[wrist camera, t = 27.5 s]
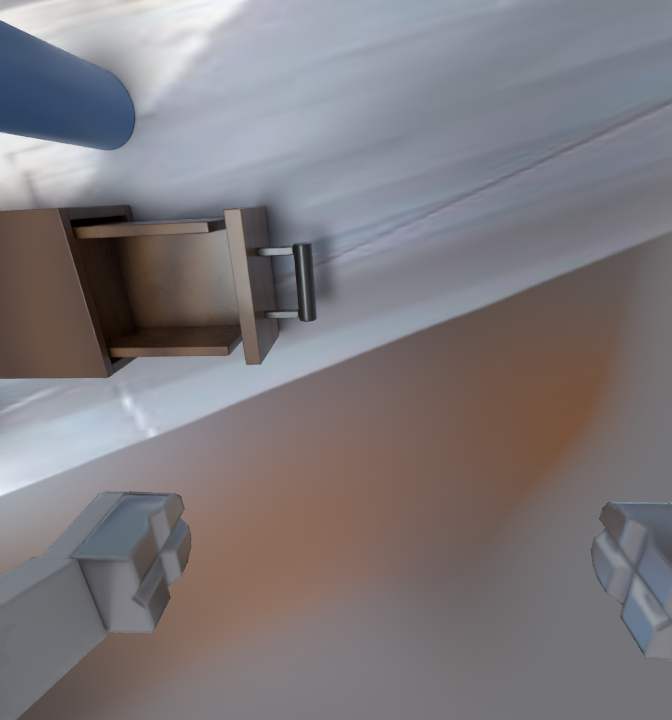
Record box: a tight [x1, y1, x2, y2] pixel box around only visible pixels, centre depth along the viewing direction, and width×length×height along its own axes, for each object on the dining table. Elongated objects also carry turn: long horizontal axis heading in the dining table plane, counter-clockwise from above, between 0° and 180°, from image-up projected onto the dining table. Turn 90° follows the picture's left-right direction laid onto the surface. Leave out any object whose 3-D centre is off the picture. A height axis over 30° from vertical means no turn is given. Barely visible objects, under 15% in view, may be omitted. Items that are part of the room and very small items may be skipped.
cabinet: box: [0, 205, 137, 379], centre depth 33 cm, size 15×13×9 cm
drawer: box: [71, 206, 317, 365], centre depth 32 cm, size 18×11×7 cm, turn 93°
